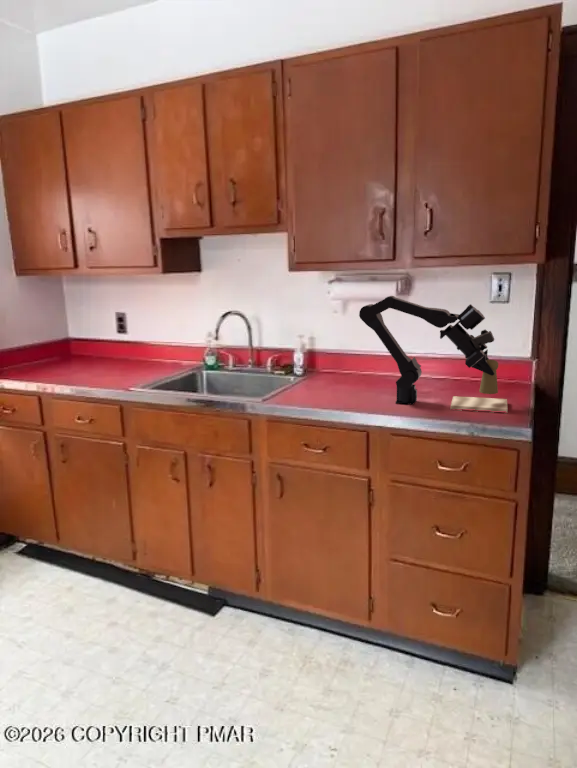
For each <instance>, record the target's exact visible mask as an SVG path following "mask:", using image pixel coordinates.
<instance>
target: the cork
mask: <svg viewBox="0 0 577 768" xmlns="http://www.w3.org/2000/svg"><path fill="white" fill-rule="evenodd" d="M486 361H487V363H488V364H489V366H490V367H491V368H492V370H493V371H494V373H495V374H494V375H493V376H492V375H489V374H487V373H485V372H482V376H481V380H480V384H479V385H480V387H479V390H478V392H479V393H481V394H485V395H495V394H496V395H497V394H498V393H499V390H498V389H499V388H498V375H497V370H498V369H499V362H498V361H497V360H496V359H489V360H486Z"/></svg>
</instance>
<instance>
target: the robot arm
mask: <svg viewBox="0 0 577 768" xmlns="http://www.w3.org/2000/svg"><path fill="white" fill-rule="evenodd" d="M388 309H389V310H390V309H392V310H396V311H398V312H400V313H401V312H402V313H405V314H407V315H410V316H413V317H417V318H420V319H421V320H422V319H423V320H424V321H425V322H427V323H429V324H430V325H431V326H434V327H436V328H439V329H441V330H440V331H439V338H440V339H441V340H442V339H443V338H445V337H446V338H447V339H449V341H451V343H453V345H455V347H456V349H457V351H460V352H461V353H462V354H463V355H464V358H465V360H464V361H465V366H467V368H468V369H470V368H473V369H475V370H478V371H480V372H482V373H483V372H485V373H487V374H489V375H492V376H493V375H494V374H495V373H494V371H493V370H492V368H491V367H490V366H489V364H488V363H487V361H486V360H490V358H489V357H488V349H487V348H488V346H487V344H489V343H490V344H491V343H493V342H494V341H495V340H496V339H495V338H494V336H493V333H492V331H491V330H488V329H483V330H481V331H480V334H478V335H477V336H474V335H472V334H469V333H468V332H467V331H468V330H472V331H473V330H474V329H475V328H476V327H477V326H479V324H481V323H482V322H483V321H484V320H485V319H486V318H485V316H484V314H483V313H482V312H481V311H480V310H479V309H477V308H476V306H475V307H474V306H473V305H472V304H469V305H468V306H467V307H466V308H465V309H464V310H463V311H461V313H460V314H458V313H452V312H450V311H449V310H447V309H445V308H437V307H428V306H423V305H421V304H417V303H414V302H410V301H408V300H405V299H401V298H399V297H396V296H394V295H389V296H386V297H385V298H384V299H382V300H380V301H378V302H376V303H374V304H373V303H371V304H370V303H369V304H366V305H364V306H362V307H361V308H360V310H359V313H358V316H359V319H360V320H361V321H362V323H364V324H365V325H366V326H367V327H369V328H370V329H371V330H372V331H374V333H375V334H376V336H377V337H378V338H379V340H380V341H381V342H382V344H383V345H384V347H385V348H386V350H387V352H388V353H389V355H390V356H391V357H392V358H393V359H394V361H395V363H396V365H397V369H398V371H399V374H400V377H399V378H398V379H397V380H396V381H395V384H396V401H395V404H397V403H408V404H407V405H415V403H416V402H417V400H418V389H417V388H416V384H415V383H416V382H417V381H418V380H419V379H420V377H422V373H423V371H422V368H421V367H422V365H420V364H419V362H418V360H417V359H416V357H415V356H413V357H412V358H410V357H409V356H408V355H407V354H406V353H405V351H404V349H403V348H402V347H401V346H400V344H399V343H398V341H397V340H396V339H395V337H394V336H393V334H392V333H391V331H390V330H389V328H388V327H387V326H386V324H385V322H384V321H385V320H384V318H383V315H382V312H385V311H386V310H388ZM454 323H455V324H454ZM452 324H454V325H452ZM447 325H448V326H447ZM446 326H447V327H446ZM442 328H445V329H442Z"/></svg>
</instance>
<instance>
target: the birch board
mask: <svg viewBox="0 0 577 768" xmlns="http://www.w3.org/2000/svg"><path fill="white" fill-rule="evenodd" d="M451 409H475V410H491V411H506V412H507V413H508V399H507V398H493V397H492V398H491V397H476V396H475V397H473V396H458V395H457V396H456V395H455V396H452V400H451V402H450V410H451Z"/></svg>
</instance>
